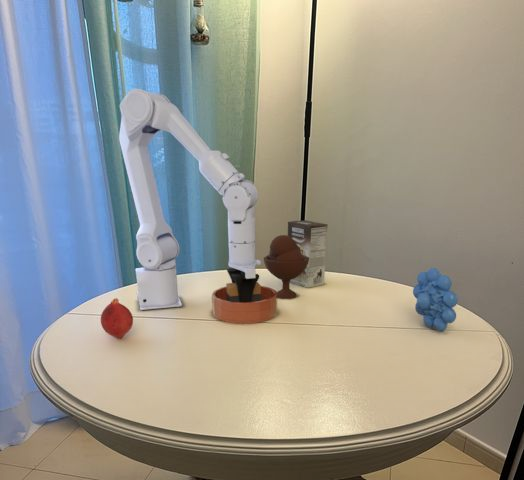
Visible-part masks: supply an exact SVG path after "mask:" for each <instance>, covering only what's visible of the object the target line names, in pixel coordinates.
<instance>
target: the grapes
mask: <svg viewBox="0 0 524 480" xmlns="http://www.w3.org/2000/svg"><path fill="white" fill-rule="evenodd" d="M416 281H417V284H415V285H414V287H413V288H412V294H413V297H414V298H415V299H416V303H415V305H414V309H415V312H416V313H417V314H418V315H420V316H422V321H423V324H424V325H425V326H426V327H427V328H435V330H436V331H437V330H438V331H439V332H444V331H446V329H447V328H448V326H449V324H453V323H454V322H455V321H456V318H457V312H456V311H455V309H454V308H455V307H456V306H457V305H458V301H459V298H458V294H456V292H455V291H452V290H451V289H452V286H453V285H452V284H453V283H452V279H451V278H450V277H449V276H448V275H446V274H441V271H439V269H438V268H436V267H430V268H429V269H428V270H427V271H420V272H419V273H418V274H417V278H416Z"/></svg>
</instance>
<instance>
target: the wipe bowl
mask: <svg viewBox="0 0 524 480" xmlns="http://www.w3.org/2000/svg"><path fill="white" fill-rule="evenodd" d="M277 292H278V291H276V290H275V289H274V288H272V287H269V286H265V285H264V286H263V285H261V301H256V302H231V301H227V288H226V286H223V287H220V288H219V287H218V288H217V289H215V290H213V291H212V293H211V307H212V309H211V310H212V315H213V317H214V318H215V319H217V320H218V321H221V322H226V323H230V324H242V325H243V324H256V323H262V322H266V321H269V320H271V319H273V318H275V317H276V316H277V314H278V298H277Z"/></svg>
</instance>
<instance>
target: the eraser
mask: <svg viewBox="0 0 524 480" xmlns="http://www.w3.org/2000/svg"><path fill="white" fill-rule="evenodd" d="M261 286H262V285H261V284H260V283H259V281H257V283H256V285H255V287H254V291H253V295H252V300H251V302H256V301H261ZM225 287H226V288H227V301H231V302H240V301H239V295H238V290H237V286H236V283H232V282H230V283H226V285H225Z"/></svg>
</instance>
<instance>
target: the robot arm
mask: <svg viewBox="0 0 524 480" xmlns="http://www.w3.org/2000/svg"><path fill="white" fill-rule="evenodd" d="M119 111H120V115H121V118H120V119H121V120H120V126H119V127H120V128H119V133H118V134H119V135H118V137H119V138H118V139H119V144H120V149H121V153H122V157H123V161H124V166H125V169H126V173H127V177H128V181H129V185H130V190H131V194H132V198H133V201H134V206H135V210H136V213H137V216H138V222H139V228H138V230H137V232H136V234H135V239H136V250H135V253H136V258H137V260H138V262H139V264H140V265H141V266H142V267H138V268H137V267H136V268H135V276H136V277H135V278H136V286H137V292H136V297H137V298H136V299H137V301H138V302H139V310H141V311H145V310H156V309H167V308H179V307H182V306H183V304H182V300H181V298H180V296H179V290H178V288H179V287H178V277H177V264H176V259H177V258H178V256H179V255H180V244H179V242H178V240H177V239H176V237H175V235H174V234H173V229H172V227H171V226H170V225H169V224H168V223H167V222H166V221H165V217H164V212H163V208H162V204H161V199H160V195H159V191H158V185H157V181H156V177H155V173H154V167H153V164H152V159H151V154H150V150H149V144H150V143H151V142H152V140H153V138H154V137H155V135H157V134H158V133H159V132H160V131H164V132H168V133H169V134H171V135H172V136H173V137H174V138H175V139H176V140H177V141H178V142H179V143H180V144H181V145H182V146H183V147H184V148H185V150H187V151H188V152H189V153H190V155H192V156H193V158H195V160H196V161H198V168H199V169H198V170H199V172H200V173H201V175H202V176H203V177H204V179H206V181H207V182H208V183H209V184H210V185H211V186H212V187H213V188H214V189H215V190H216V191H217V192H218V194H219V195H220V196H222V203H223V205H224V207H225V209H226V210H227V235H228V236H227V238H228V264H227V265H228V267H229V268H227V269H226V272H227V273H228V275H229V278H230V280H231V283H236V286H237V290H238V295H239V301H240V302H251V300H252V295H253V291H254V287H255V285H256V283H257V282H259V279H260V275H259V274H258V273H256V270H257V269H256V267H257V266H259V265H262V261H261V260H260V259H256V218H255V217H256V212H255V211H256V210H255V209H256V208H255V205H256V204H257V202H258V199H259V193H258V192H259V191H258V189H257V188H256V186H255V184H254V182H252V181H251V180H248V179H245V178H246V176H245V174H244V173H243V172H240V171H238V170H237V169H236V168H235V166H233V164H232V163H231V162H230V161H229V159H230V156H229V155H228V154H227V153H226V152H223V153H222V152H221V150H211V149H210V147H209V146H208V145H207V144H206V142H205V141H204V140H203V139H202V137H201V136H200V134H198V132H197V130H195V128H194V127H193V126H192V125H191V123H190V122H189V121H188V120H187V119H186V117H185V116H184V115H183V114H182V113H181V111H180V110H179V108H178V106H176V105H175V104H173V103H171V101H170V99H169V98H168V97H167V96H166V95H164V94H162V93H154V92H150V91H146V90H144V89H141V88H132V89H130V90H129V91H128V92H127V93H126V94H125V95H124V97H123V99H122V101H121V102H120V104H119Z"/></svg>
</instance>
